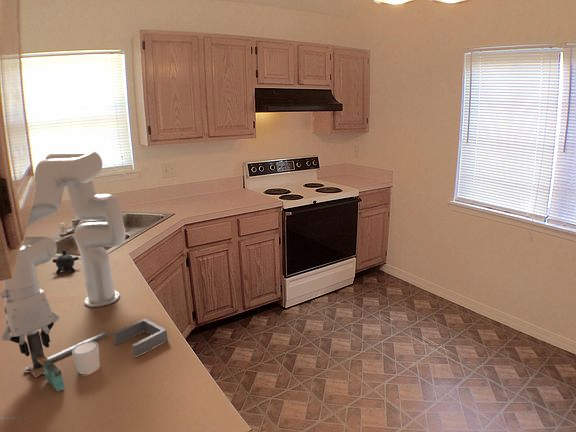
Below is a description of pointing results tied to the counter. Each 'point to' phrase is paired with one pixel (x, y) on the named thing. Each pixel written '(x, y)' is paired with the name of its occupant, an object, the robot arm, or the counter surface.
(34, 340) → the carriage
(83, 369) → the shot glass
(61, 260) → the dark lidded pot
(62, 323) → the counter surface
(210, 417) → the counter surface
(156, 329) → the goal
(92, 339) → the rail
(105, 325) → the counter surface
